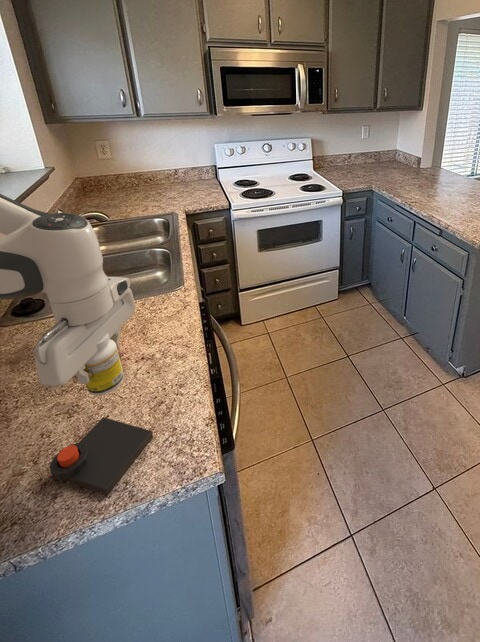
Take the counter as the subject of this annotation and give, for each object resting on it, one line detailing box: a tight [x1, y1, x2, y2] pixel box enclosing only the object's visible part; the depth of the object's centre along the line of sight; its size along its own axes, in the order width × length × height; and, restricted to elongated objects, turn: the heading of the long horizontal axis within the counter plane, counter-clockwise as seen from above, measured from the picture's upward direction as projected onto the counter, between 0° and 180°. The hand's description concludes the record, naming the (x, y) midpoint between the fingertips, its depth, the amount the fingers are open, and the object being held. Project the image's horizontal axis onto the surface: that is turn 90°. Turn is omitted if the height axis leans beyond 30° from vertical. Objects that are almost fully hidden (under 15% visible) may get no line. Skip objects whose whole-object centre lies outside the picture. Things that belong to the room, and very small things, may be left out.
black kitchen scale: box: [49, 416, 154, 497], centre depth 72 cm, size 14×13×4 cm
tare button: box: [57, 444, 79, 467], centre depth 69 cm, size 3×3×2 cm
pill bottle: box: [84, 333, 125, 397], centre depth 67 cm, size 6×6×11 cm
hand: (101, 364), depth 67 cm, fingers closed on pill bottle, 6 cm apart
